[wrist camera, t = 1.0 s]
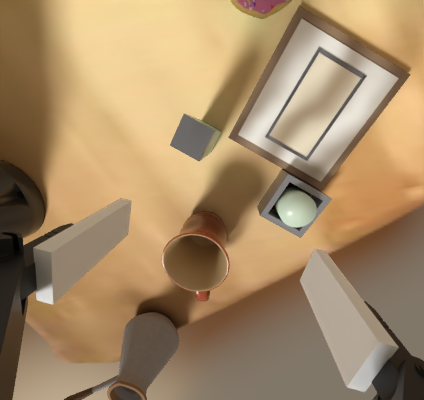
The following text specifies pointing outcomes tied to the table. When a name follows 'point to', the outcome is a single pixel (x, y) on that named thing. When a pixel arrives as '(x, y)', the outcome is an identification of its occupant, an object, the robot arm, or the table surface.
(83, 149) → the table surface
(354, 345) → the robot arm
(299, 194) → the button
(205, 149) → the grey and mint block
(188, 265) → the mug
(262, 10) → the donut
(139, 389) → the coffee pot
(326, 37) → the picture frame
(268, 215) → the button frame
